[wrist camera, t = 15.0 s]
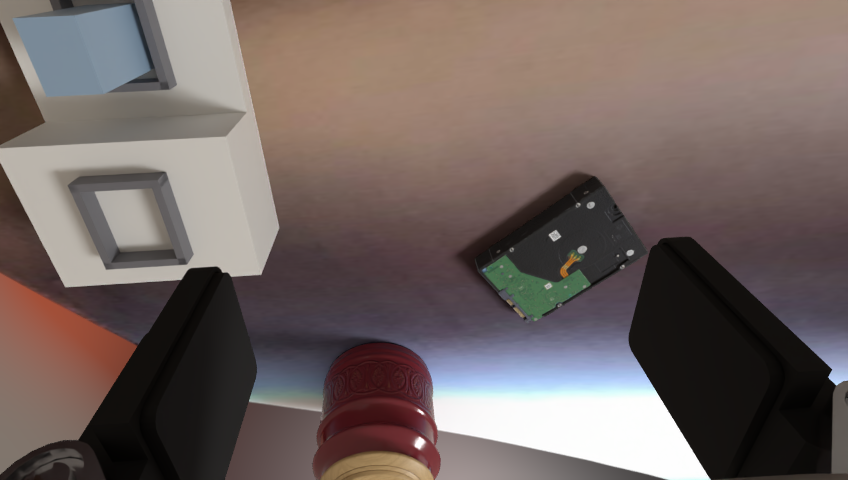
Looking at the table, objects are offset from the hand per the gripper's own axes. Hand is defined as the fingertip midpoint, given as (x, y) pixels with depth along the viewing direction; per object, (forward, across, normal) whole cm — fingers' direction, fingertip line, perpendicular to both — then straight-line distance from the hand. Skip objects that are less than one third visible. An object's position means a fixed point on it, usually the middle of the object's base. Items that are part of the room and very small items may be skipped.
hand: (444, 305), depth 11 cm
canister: (+34, +5, +38) cm, 51 cm away
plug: (+31, +21, -2) cm, 38 cm away
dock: (+33, +21, +4) cm, 40 cm away
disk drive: (+34, -15, +21) cm, 43 cm away
